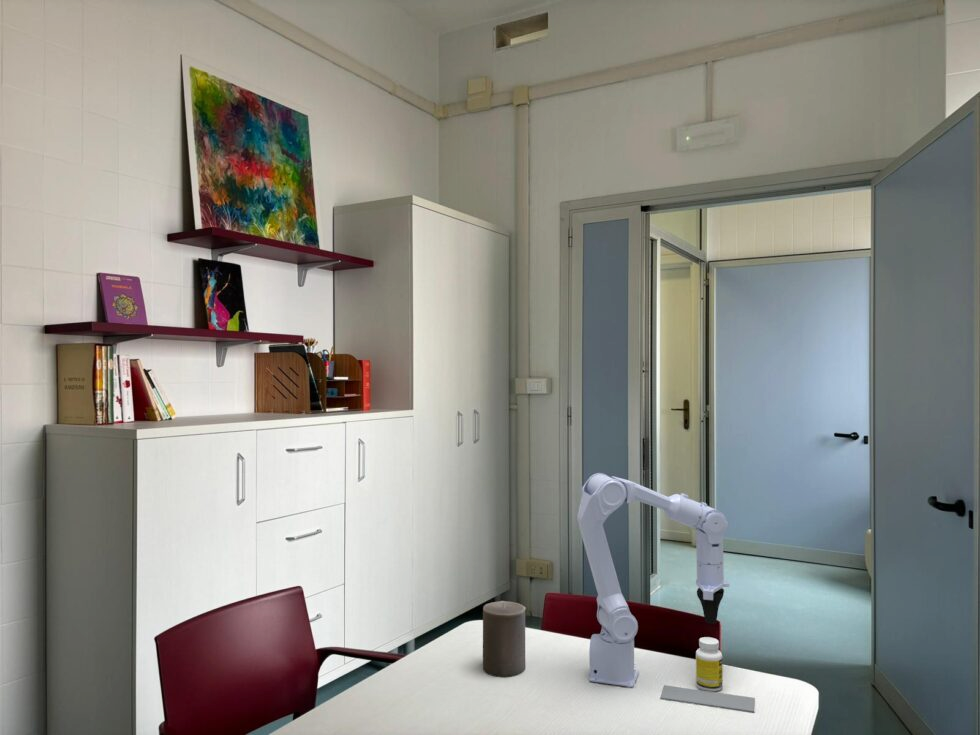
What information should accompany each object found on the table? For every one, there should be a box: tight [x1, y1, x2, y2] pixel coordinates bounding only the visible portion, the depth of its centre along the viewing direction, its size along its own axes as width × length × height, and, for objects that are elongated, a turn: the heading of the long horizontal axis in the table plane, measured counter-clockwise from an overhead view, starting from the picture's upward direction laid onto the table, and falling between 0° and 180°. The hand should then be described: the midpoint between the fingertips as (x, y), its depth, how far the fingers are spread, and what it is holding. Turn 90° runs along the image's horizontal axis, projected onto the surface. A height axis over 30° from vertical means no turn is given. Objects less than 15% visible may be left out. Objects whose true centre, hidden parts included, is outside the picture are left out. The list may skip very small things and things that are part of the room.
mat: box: [659, 684, 756, 713], centre depth 146 cm, size 18×6×1 cm, turn 69°
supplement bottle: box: [695, 636, 724, 692], centre depth 152 cm, size 5×5×10 cm
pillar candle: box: [482, 600, 527, 678], centre depth 163 cm, size 10×10×15 cm
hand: (710, 622), depth 161 cm, fingers closed
